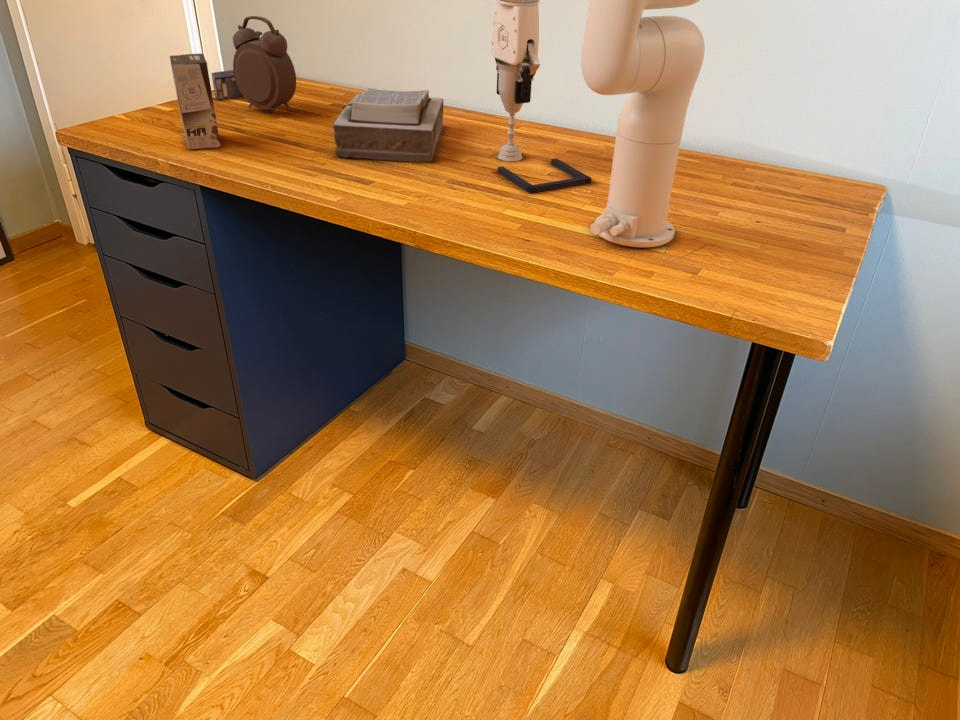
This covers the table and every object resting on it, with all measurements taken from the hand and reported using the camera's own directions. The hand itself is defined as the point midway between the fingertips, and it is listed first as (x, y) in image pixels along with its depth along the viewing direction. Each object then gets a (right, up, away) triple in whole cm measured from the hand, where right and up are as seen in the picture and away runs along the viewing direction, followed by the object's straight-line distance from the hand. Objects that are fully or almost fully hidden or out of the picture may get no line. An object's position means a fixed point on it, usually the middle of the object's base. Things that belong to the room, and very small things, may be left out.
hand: (513, 97), depth 140 cm
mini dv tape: (-66, +14, +38) cm, 78 cm away
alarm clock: (-55, +7, +29) cm, 63 cm away
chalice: (0, -10, +7) cm, 12 cm away
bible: (-25, -5, +13) cm, 28 cm away
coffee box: (-63, -6, +9) cm, 64 cm away
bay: (+6, -16, -3) cm, 17 cm away
